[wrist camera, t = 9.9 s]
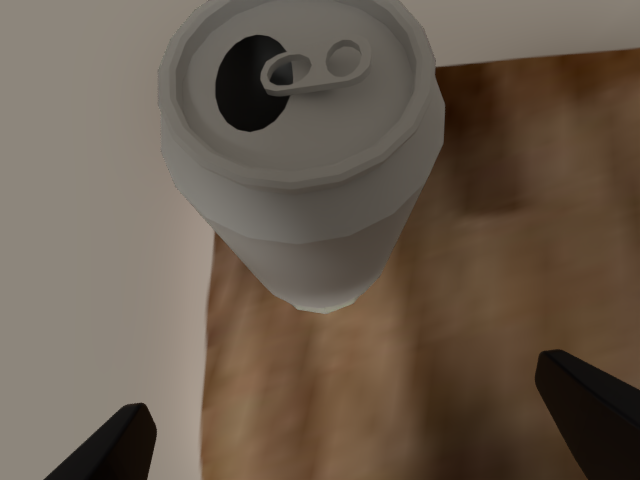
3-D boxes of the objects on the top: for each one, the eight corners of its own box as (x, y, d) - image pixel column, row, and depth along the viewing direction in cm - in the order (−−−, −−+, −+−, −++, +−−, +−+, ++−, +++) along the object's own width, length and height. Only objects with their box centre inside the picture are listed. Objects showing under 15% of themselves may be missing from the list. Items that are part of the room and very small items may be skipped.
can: (254, 182, 20) (151, -50, 9) (383, 178, 20) (446, -65, 9) (245, 312, 18) (85, 217, 6) (393, 310, 17) (501, 208, 6)
